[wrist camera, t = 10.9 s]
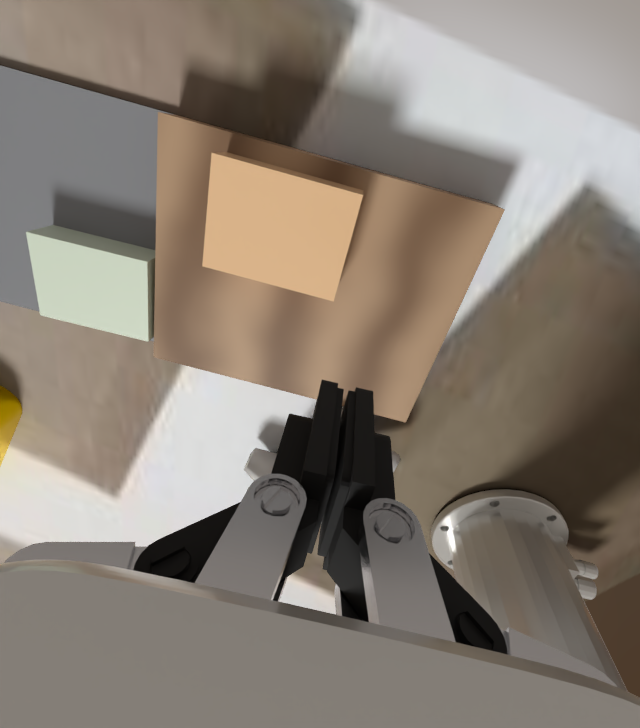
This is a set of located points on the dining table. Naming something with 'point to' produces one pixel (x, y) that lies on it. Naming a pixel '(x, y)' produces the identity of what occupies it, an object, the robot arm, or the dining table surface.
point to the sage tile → (94, 281)
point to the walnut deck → (305, 312)
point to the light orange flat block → (278, 225)
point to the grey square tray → (70, 171)
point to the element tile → (8, 418)
